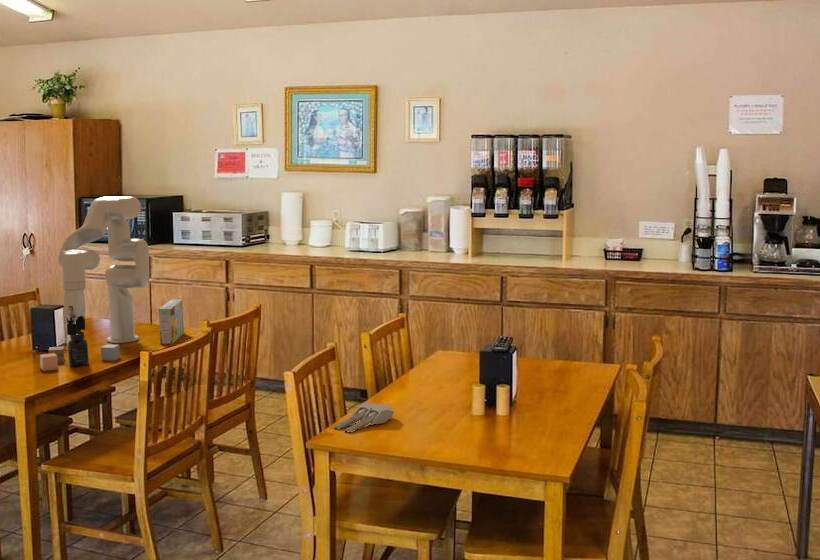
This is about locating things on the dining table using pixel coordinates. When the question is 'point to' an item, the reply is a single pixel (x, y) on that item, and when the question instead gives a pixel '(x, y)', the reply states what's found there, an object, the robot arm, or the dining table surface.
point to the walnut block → (57, 353)
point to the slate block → (110, 352)
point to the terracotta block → (48, 362)
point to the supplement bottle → (78, 350)
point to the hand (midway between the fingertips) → (76, 332)
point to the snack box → (171, 321)
